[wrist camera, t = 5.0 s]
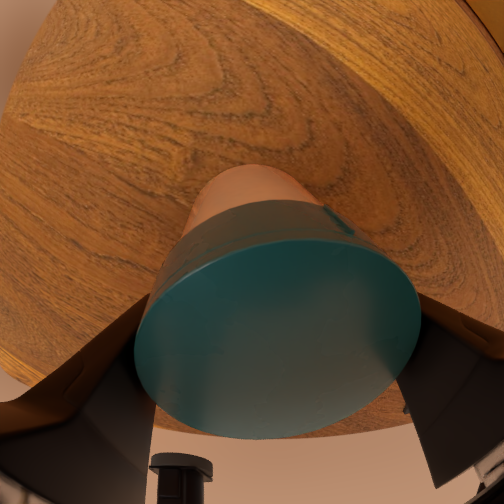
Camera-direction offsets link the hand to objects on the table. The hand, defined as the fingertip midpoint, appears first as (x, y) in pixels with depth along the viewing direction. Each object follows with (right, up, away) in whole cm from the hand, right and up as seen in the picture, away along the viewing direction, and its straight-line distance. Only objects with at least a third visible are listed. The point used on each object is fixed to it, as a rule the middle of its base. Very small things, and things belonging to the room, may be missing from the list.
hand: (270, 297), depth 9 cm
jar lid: (0, -1, -3) cm, 3 cm away
